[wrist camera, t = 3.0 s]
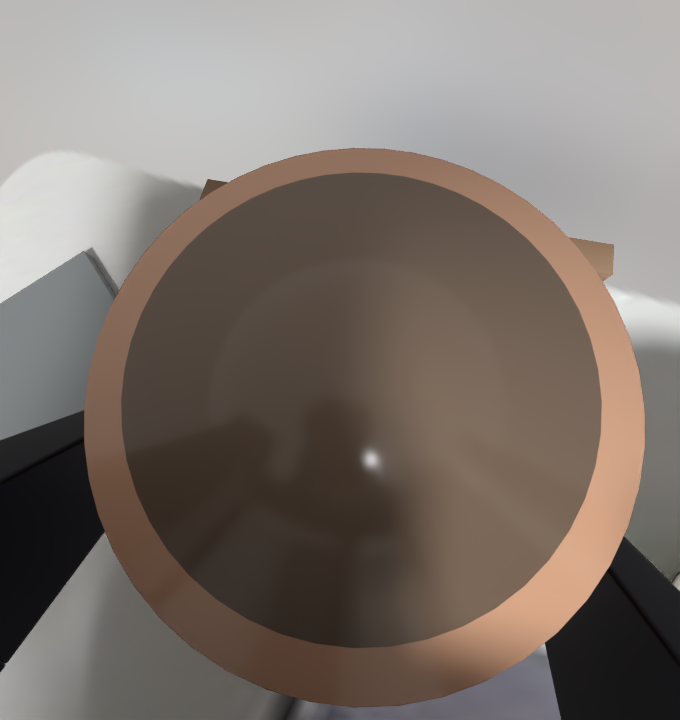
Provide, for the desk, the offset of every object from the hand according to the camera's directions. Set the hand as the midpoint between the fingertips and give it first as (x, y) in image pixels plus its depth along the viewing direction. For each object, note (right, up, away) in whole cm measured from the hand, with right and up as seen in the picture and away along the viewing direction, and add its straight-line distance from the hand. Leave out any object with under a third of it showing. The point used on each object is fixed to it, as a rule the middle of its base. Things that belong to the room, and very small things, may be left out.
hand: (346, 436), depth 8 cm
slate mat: (-16, +1, +10) cm, 19 cm away
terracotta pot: (+1, -1, +9) cm, 9 cm away
